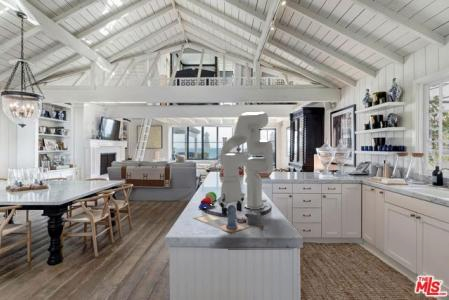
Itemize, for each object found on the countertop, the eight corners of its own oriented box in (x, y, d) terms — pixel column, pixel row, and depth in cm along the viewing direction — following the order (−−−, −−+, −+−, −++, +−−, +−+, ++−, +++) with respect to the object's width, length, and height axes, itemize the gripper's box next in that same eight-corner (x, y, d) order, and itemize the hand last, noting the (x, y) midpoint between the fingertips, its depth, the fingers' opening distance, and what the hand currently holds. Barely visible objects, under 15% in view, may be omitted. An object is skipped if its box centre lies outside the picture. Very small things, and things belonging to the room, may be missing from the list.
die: (252, 220, 145) (251, 211, 145) (260, 222, 143) (260, 212, 143) (248, 223, 141) (248, 213, 141) (257, 224, 139) (256, 214, 138)
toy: (210, 214, 171) (220, 198, 182) (207, 205, 167) (217, 189, 178) (199, 213, 175) (209, 197, 186) (195, 203, 171) (206, 188, 182)
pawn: (232, 224, 139) (232, 203, 138) (239, 227, 134) (239, 205, 134) (223, 226, 135) (223, 205, 135) (231, 229, 131) (231, 207, 130)
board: (209, 214, 158) (209, 214, 158) (249, 227, 134) (249, 227, 134) (192, 218, 151) (192, 218, 151) (230, 233, 126) (230, 233, 126)
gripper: (238, 176, 142) (239, 208, 143) (212, 180, 131) (213, 215, 132) (249, 177, 136) (249, 211, 138) (222, 182, 125) (223, 218, 126)
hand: (232, 213), depth 135 cm, fingers open, 9 cm apart
